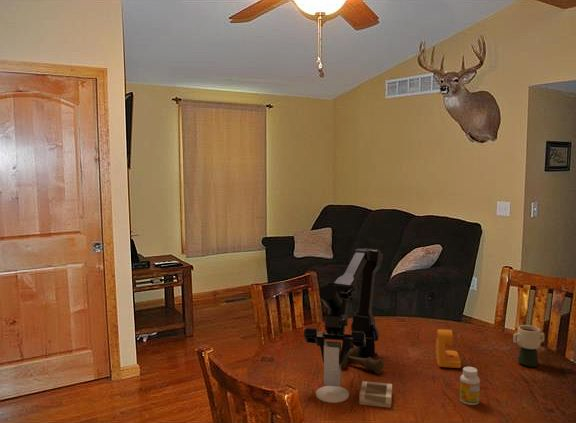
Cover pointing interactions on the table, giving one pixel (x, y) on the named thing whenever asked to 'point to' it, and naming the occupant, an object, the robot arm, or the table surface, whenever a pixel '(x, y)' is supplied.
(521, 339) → the character mug
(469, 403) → the supplement bottle
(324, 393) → the coaster
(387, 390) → the collar
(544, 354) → the table surface
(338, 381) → the steel peg
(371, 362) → the kendama
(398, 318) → the table surface
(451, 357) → the bracket
